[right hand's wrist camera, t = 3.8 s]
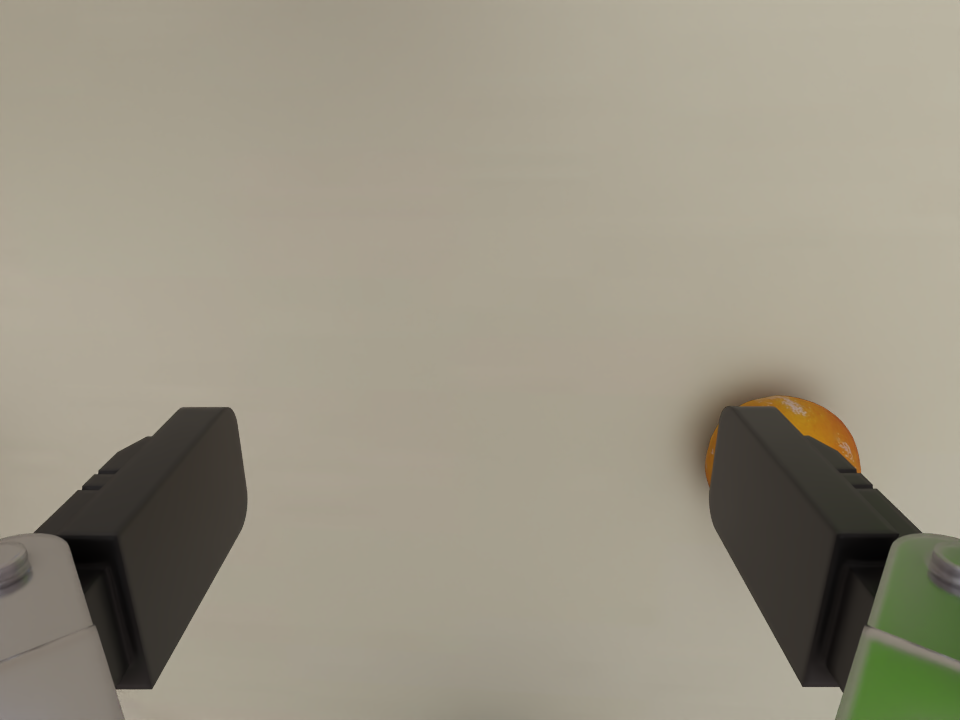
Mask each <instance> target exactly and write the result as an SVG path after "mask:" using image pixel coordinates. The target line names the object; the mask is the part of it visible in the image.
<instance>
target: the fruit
mask: <svg viewBox="0 0 960 720" xmlns="http://www.w3.org/2000/svg"><path fill="white" fill-rule="evenodd" d="M740 406H774V407H776V408H777V409H778V410H779V411H780V412H781V413H782V414H783V415H784V416H785V417H786V418H787V419H788V420H789V421H790V422H791V423H792V424H793V425H794V426H795V427H796V428H797V429H798V430H799V431H800V432H801V433H802V434H803V435H809V436H811V437H813V438H815V439H816V440H818V441H820V442H822V443H824V444H826V445H828V446H829V447H831V448H833V449H835V450H837V451H838V452H839V453H840V454H841V455H842V456H844V457H845V458H846V459H847V460H848V461H849V462H850V463H851V464H852V465H853V466H854V467H855V468H856V469H857V473H861V467H860V460H859V455H858V451H857V447H856V444H855V442H854V439H853V437H852V435H851V433H850V432H849V430H848V429H847V428H846V426H845V425H844V424H843V422H842V421H841V420H840V419H839V418H838V417H836V416H835V415H834V414H833V413H831V412H830V411H828V410H827V409H825V408H824V407H822V406H820V405H818V404H815V403H813V402H810V401H807V400H803V399H800V398H795V397H790V396H780V395H779V396H770V397H765V398H760V399H756V400H751V401H749V402H746V403H744V404H742V405H740ZM718 426H719V424H718V425H717V427H716V429H715V431H714V433H713V435H712V437H711V439H710V443H709V448H708V451H707V454H706V460H705V472H706V477H707V481H708V484H709V487H710V482H711V475H712V468H713V461H714V454H715V447H716V440H717V433H718Z"/></svg>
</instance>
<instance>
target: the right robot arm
mask: <svg viewBox="0 0 960 720" xmlns="http://www.w3.org/2000/svg"><path fill="white" fill-rule="evenodd" d="M709 506H710V513H711V518H712V522H713V525H714V527H715V529H716V531H717V533H718V535H719V537H720V539H721V540H722V542H723V544H724V546H725V548H726V549H727V551H728V553H729V555H730V557H731V558H732V560H733V562H734V564H735V566H736V567H737V569H738V571H739V573H740V575H741V576H742V578H743V580H744V582H745V584H746V585H747V587H748V589H749V591H750V593H751V594H752V596H753V598H754V600H755V602H756V604H757V605H758V607H759V609H760V611H761V613H762V614H763V616H764V618H765V620H766V622H767V623H768V625H769V627H770V629H771V631H772V632H773V634H774V636H775V638H776V640H777V641H778V643H779V645H780V647H781V649H782V650H783V652H784V654H785V656H786V658H787V659H788V661H789V663H790V665H791V667H792V668H793V670H794V672H795V674H796V676H797V678H798V679H799V681H800V683H801V685H802V687H840V689H841V690H842V692H843V696H842V699H841V702H840V705H839V709H838V712H837V715H836V718H835V720H960V539H958V538H954V537H950V536H945V535H939V534H930V533H922V532H921V531H920V530H919V529H918V528H917V527H916V526H915V525H914V524H913V523H912V522H911V521H910V520H909V519H908V518H906V517H905V516H904V515H903V514H902V513H901V512H900V511H899V510H898V509H897V508H896V507H895V506H894V505H893V504H892V503H891V502H890V501H889V500H888V499H887V498H886V497H885V496H884V495H883V494H882V493H881V492H880V491H879V490H878V489H873V485H872V484H871V483H870V482H869V481H868V480H867V479H866V478H865V477H864V476H863V475H862V474H861V473H857V469H856V468H855V467H854V466H853V465H852V464H851V463H850V462H849V461H848V460H847V459H846V458H845V457H844V456H842V455H841V454H840V453H839V452H838V451H837V450H835V449H833V448H831V447H829V446H828V445H826V444H824V443H822V442H820V441H818V440H816V439H815V438H813V437H811V436H809V435H803V434H802V433H801V432H800V431H799V430H798V429H797V428H796V427H795V426H794V425H793V424H792V423H791V422H790V421H789V420H788V419H787V418H786V417H785V416H784V415H783V414H782V413H781V412H780V411H779V410H778V409H777V408H776V407H774V406H727V407H725V408H724V409H723V411H722V413H721V416H720V420H719V426H718V433H717V440H716V447H715V454H714V461H713V468H712V475H711V482H710V490H709ZM246 511H247V487H246V480H245V473H244V466H243V459H242V452H241V445H240V438H239V431H238V424H237V419H236V416H235V414H234V412H233V410H232V409H231V408H229V407H182V408H180V409H179V410H178V411H177V412H176V413H175V414H174V415H173V416H172V417H171V418H170V419H169V420H168V421H167V422H166V423H165V424H164V425H163V426H162V427H161V428H160V429H159V430H158V431H157V432H156V433H155V434H154V435H153V436H152V437H145V438H143V439H141V440H140V441H138V442H136V443H134V444H132V445H130V446H128V447H126V448H125V449H123V450H121V451H119V452H117V453H116V454H115V455H114V456H113V457H112V458H111V459H110V460H109V461H108V462H107V463H106V464H105V465H104V466H103V467H102V468H101V469H100V470H99V473H98V474H94V475H93V476H92V477H91V478H90V479H89V480H88V481H87V482H86V483H85V484H84V485H83V486H82V490H78V491H77V492H76V493H75V494H74V495H73V496H72V497H70V498H69V499H68V500H67V501H66V502H65V503H64V504H63V505H62V506H61V507H60V508H59V509H58V510H57V511H56V512H55V513H54V514H53V515H52V516H51V517H50V518H49V519H48V520H47V521H45V522H44V523H43V524H42V525H41V526H40V527H39V528H38V529H37V530H36V531H35V532H34V533H30V534H21V535H15V536H10V537H6V538H2V539H0V720H125V718H124V715H123V712H122V709H121V705H120V702H119V699H118V696H117V692H116V689H152V688H153V687H154V685H155V683H156V681H157V679H158V678H159V676H160V674H161V672H162V671H163V669H164V667H165V665H166V663H167V662H168V660H169V658H170V656H171V655H172V653H173V651H174V649H175V647H176V646H177V644H178V642H179V640H180V638H181V637H182V635H183V633H184V631H185V630H186V628H187V626H188V624H189V622H190V621H191V619H192V617H193V615H194V614H195V612H196V610H197V608H198V606H199V605H200V603H201V601H202V599H203V597H204V596H205V594H206V592H207V590H208V589H209V587H210V585H211V583H212V581H213V580H214V578H215V576H216V574H217V572H218V571H219V569H220V567H221V565H222V564H223V562H224V560H225V558H226V556H227V555H228V553H229V551H230V549H231V548H232V546H233V544H234V542H235V540H236V539H237V537H238V535H239V533H240V531H241V529H242V527H243V524H244V521H245V517H246Z"/></svg>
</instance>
